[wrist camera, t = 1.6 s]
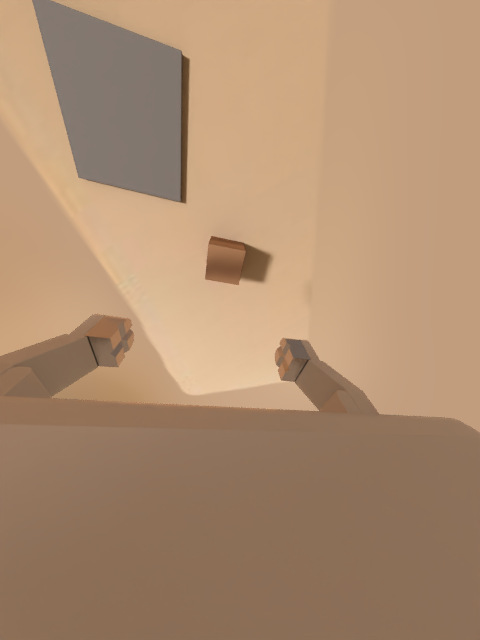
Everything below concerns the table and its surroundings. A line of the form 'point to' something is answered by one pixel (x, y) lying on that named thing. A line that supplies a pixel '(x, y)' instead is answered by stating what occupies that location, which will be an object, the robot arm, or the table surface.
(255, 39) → the table surface
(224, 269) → the walnut cube
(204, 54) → the table surface
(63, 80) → the slate pad
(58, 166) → the table surface
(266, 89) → the table surface
